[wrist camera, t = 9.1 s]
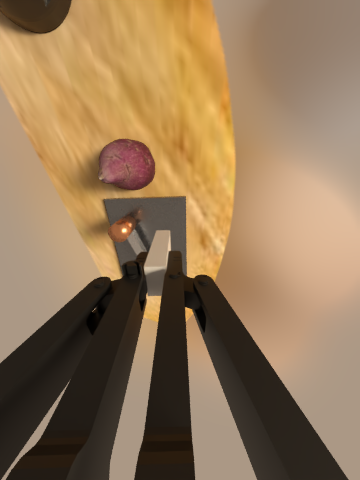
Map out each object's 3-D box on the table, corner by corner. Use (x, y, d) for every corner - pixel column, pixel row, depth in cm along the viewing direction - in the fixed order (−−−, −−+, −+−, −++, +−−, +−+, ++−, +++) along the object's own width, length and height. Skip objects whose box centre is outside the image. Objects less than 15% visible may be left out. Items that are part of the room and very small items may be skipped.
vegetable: (141, 193, 38) (121, 225, 27) (105, 165, 34) (63, 188, 23) (165, 162, 33) (152, 185, 22) (126, 123, 29) (84, 126, 17)
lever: (168, 277, 43) (166, 295, 37) (152, 282, 44) (148, 300, 38) (133, 212, 34) (124, 220, 28) (115, 219, 35) (101, 229, 29)
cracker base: (106, 198, 36) (89, 204, 29) (185, 196, 36) (187, 201, 29) (125, 277, 46) (116, 294, 40) (186, 275, 46) (187, 292, 40)
